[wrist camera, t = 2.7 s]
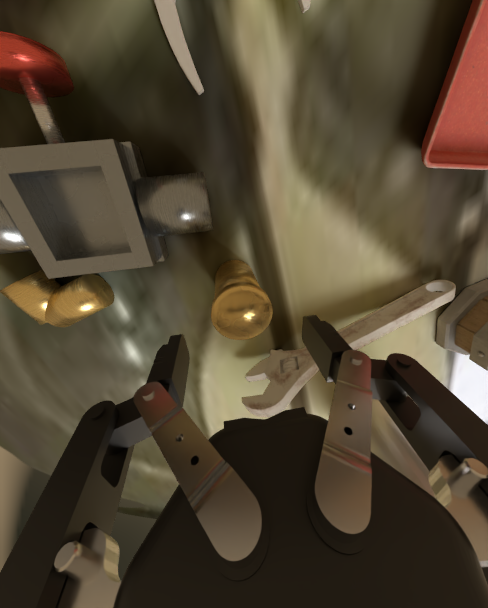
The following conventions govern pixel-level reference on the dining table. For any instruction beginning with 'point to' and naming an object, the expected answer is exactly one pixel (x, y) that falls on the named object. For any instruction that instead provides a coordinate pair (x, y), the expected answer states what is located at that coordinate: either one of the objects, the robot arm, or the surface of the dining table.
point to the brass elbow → (60, 298)
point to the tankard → (467, 324)
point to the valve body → (84, 185)
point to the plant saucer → (463, 102)
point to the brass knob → (239, 302)
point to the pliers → (177, 41)
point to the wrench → (299, 363)
